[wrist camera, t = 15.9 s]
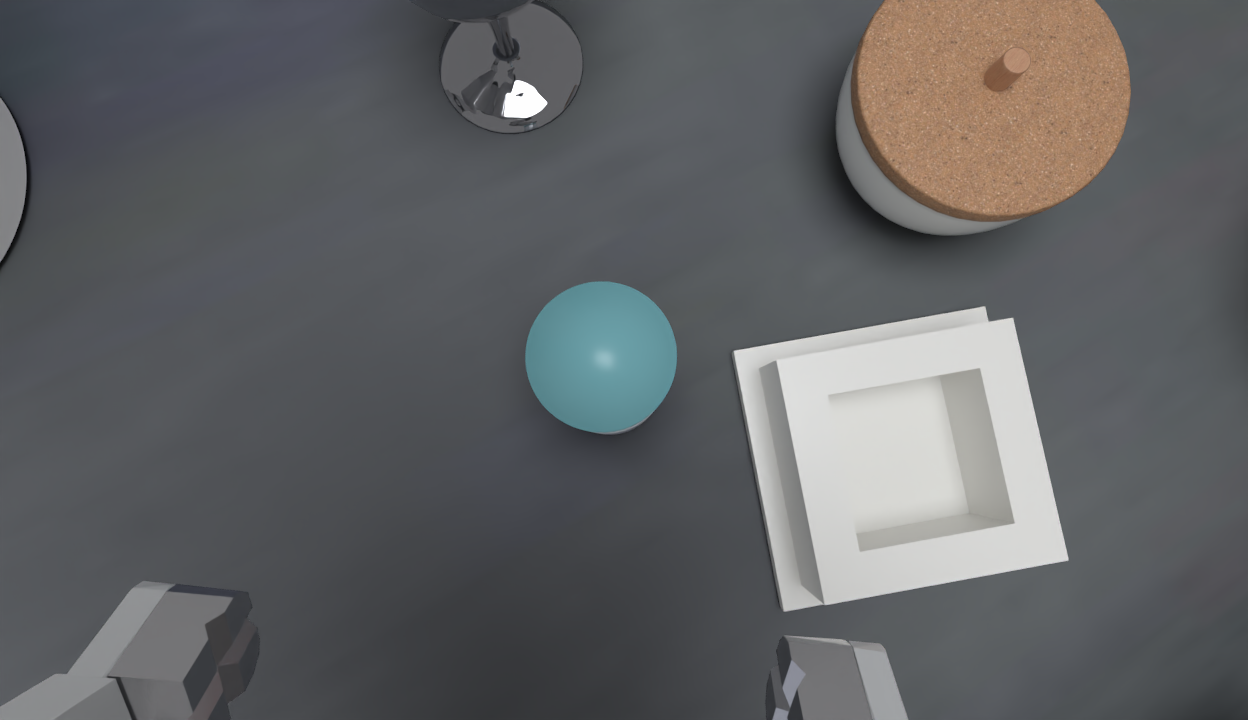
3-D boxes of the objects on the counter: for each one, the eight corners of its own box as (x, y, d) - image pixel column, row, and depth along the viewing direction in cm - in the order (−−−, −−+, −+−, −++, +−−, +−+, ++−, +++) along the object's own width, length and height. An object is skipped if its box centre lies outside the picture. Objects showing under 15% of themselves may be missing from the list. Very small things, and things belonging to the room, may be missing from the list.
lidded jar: (763, 166, 37) (811, 75, 28) (900, 7, 38) (991, -133, 28) (936, 306, 36) (1045, 262, 27) (1071, 142, 37) (1222, 43, 28)
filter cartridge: (568, 442, 36) (538, 444, 24) (552, 343, 36) (514, 295, 24) (669, 425, 36) (689, 418, 24) (651, 326, 36) (662, 270, 24)
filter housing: (780, 607, 35) (805, 634, 30) (731, 352, 36) (747, 340, 31) (1033, 561, 35) (1098, 580, 30) (976, 309, 36) (1030, 290, 32)
